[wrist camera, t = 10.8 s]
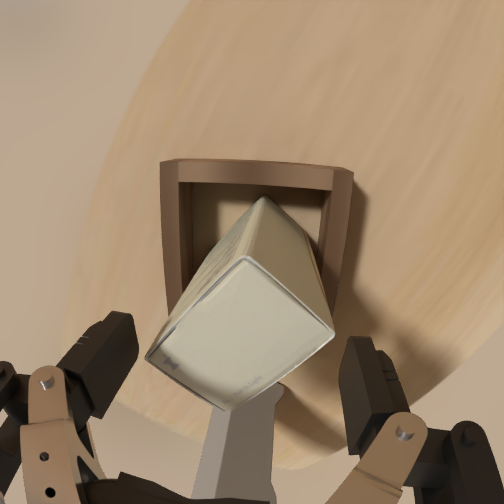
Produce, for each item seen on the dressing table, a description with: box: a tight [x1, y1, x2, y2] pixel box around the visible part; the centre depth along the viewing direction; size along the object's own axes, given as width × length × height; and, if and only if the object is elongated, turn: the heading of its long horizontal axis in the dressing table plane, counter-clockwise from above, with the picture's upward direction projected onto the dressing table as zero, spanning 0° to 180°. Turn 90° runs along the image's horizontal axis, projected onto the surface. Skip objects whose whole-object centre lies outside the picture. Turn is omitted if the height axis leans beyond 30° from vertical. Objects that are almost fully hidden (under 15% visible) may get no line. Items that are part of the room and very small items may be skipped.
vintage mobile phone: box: [191, 382, 284, 504], centre depth 15 cm, size 4×5×25 cm
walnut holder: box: [160, 159, 354, 317], centre depth 20 cm, size 11×11×3 cm
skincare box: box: [145, 195, 336, 413], centre depth 16 cm, size 6×4×12 cm
